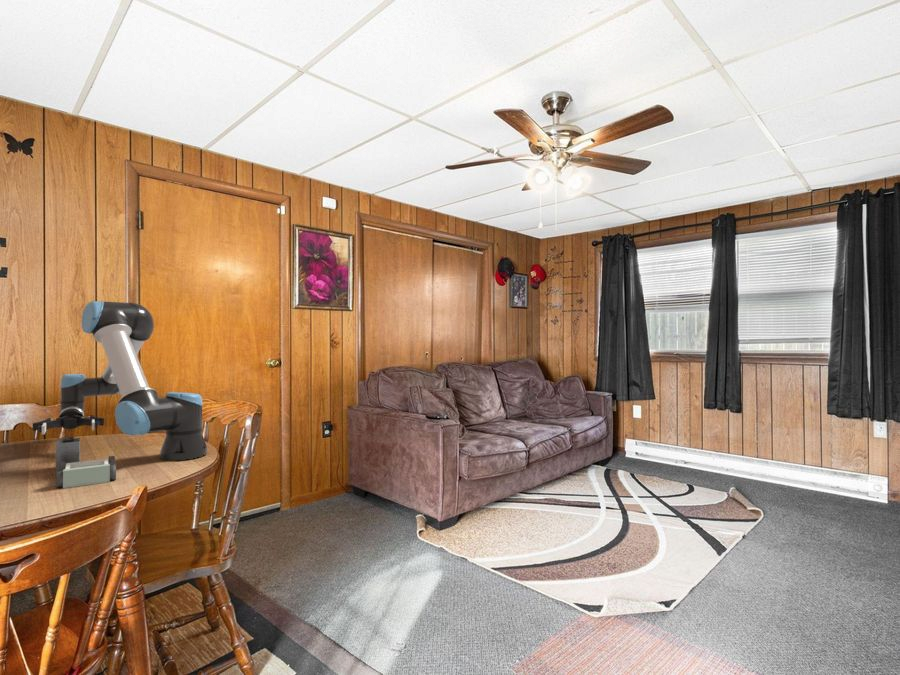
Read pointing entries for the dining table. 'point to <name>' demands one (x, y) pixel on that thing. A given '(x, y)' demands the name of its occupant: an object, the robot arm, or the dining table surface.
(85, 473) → the toy car chassis
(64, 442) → the grey upright block
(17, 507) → the dining table surface
